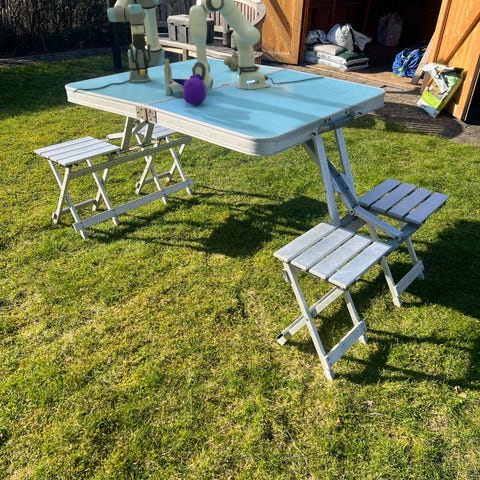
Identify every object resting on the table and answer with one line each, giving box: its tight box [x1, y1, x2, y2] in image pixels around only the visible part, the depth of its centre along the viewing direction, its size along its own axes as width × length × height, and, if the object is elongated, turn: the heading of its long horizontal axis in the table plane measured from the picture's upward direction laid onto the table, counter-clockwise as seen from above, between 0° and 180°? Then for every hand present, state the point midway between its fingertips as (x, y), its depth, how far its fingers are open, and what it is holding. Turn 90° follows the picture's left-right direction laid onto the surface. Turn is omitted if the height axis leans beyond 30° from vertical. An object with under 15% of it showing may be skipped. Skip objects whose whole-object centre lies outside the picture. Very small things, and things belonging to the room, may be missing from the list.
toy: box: [172, 74, 208, 106], centre depth 273 cm, size 16×18×27 cm
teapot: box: [223, 50, 239, 72], centre depth 366 cm, size 21×12×15 cm, turn 120°
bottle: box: [163, 58, 175, 96], centre depth 293 cm, size 5×5×22 cm
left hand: (143, 73), depth 282 cm, fingers closed on cap, 4 cm apart
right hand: (167, 84), depth 295 cm, fingers closed on bottle, 5 cm apart
